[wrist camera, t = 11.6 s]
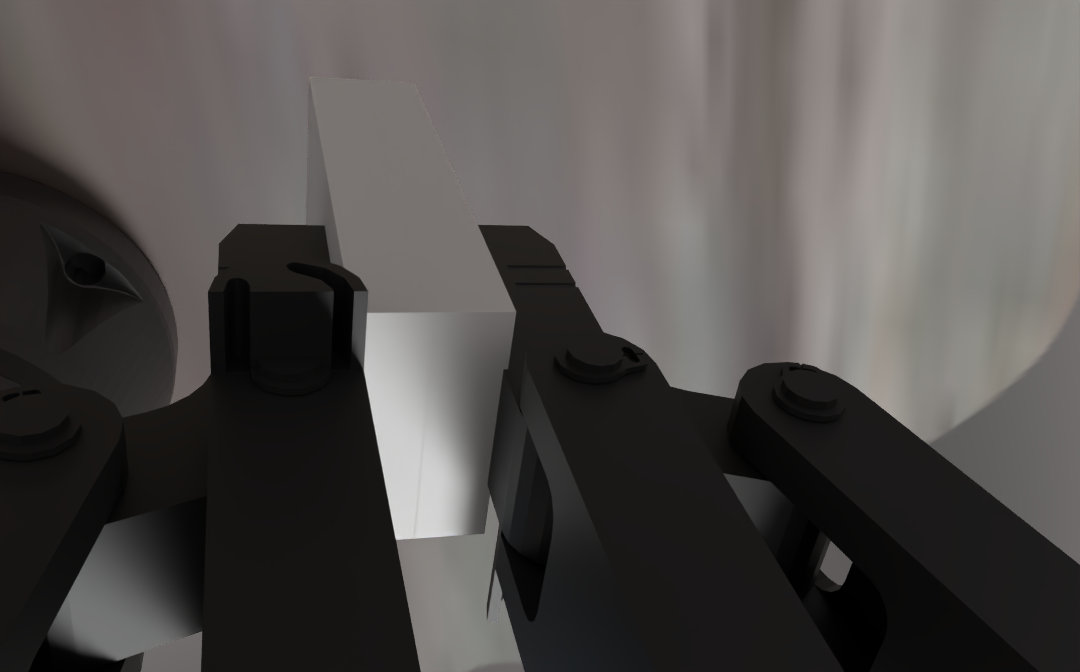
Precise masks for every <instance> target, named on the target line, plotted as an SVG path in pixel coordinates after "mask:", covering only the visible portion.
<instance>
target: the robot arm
mask: <svg viewBox="0 0 1080 672" xmlns="http://www.w3.org/2000/svg"><path fill="white" fill-rule="evenodd" d="M575 284H576V283H575V281H574V279H573V277H572V276H571V274H570V272H569V270H566V265H565V263H564V262H563V260H562V258H561V256H560V254H559V253H558V251H557V249H556V247H555V246H554V244H552V243H551V242H550V241H548V240H547V239H545V238H544V237H543V236H541V235H540V234H538V233H537V232H536V231H534V230H533V229H532V228H530V227H529V226H503V225H478V224H477V222H476V220H475V218H474V215H473V213H472V211H471V209H470V206H469V204H468V202H467V200H466V197H465V195H464V193H463V191H462V188H461V186H460V184H459V182H458V179H457V177H456V175H455V172H454V170H453V168H452V166H451V163H450V161H449V159H448V157H447V154H446V152H445V150H444V148H443V145H442V143H441V141H440V139H439V136H438V134H437V132H436V130H435V127H434V125H433V123H432V121H431V118H430V116H429V114H428V112H427V109H426V107H425V105H424V103H423V100H422V98H421V96H420V94H419V91H418V89H417V87H416V85H415V82H400V81H383V80H365V79H348V78H331V77H313V76H309V100H308V151H307V201H306V225H268V224H238V225H237V226H236V227H235V228H234V229H233V230H232V231H231V232H230V233H229V234H228V235H227V236H226V237H225V238H224V239H223V240H222V241H221V242H220V243H219V263H218V275H217V276H216V277H215V278H214V280H213V282H212V284H211V287H210V289H209V291H208V303H209V331H210V358H211V375H210V376H209V377H208V379H207V380H206V382H205V383H204V384H203V385H202V386H201V387H199V388H198V389H197V390H196V391H194V392H193V393H192V394H190V395H189V396H187V397H185V398H183V399H181V400H179V401H177V402H175V403H173V404H171V405H170V402H171V398H172V395H173V389H174V384H175V373H176V362H177V351H178V338H177V329H176V323H175V318H174V314H173V310H172V307H171V303H170V301H169V298H168V296H167V293H166V291H165V289H164V287H163V285H162V283H161V281H160V279H159V277H158V276H157V274H156V272H155V271H154V269H153V268H152V266H151V265H150V264H149V262H148V261H147V259H146V258H145V257H144V256H143V254H142V253H141V252H140V251H139V249H138V248H137V247H136V246H135V245H134V244H133V243H132V242H131V241H130V240H129V239H128V238H127V237H126V236H125V235H124V234H123V233H122V232H121V231H120V230H118V229H117V228H116V227H115V226H114V225H112V224H111V223H110V222H109V221H107V220H106V219H105V218H103V217H102V216H101V215H99V214H98V213H96V212H95V211H93V210H92V209H90V208H89V207H87V206H85V205H84V204H82V203H80V202H79V201H77V200H75V199H73V198H71V197H69V196H67V195H65V194H63V193H61V192H59V191H57V190H54V189H52V188H50V187H48V186H45V185H42V184H40V183H37V182H34V181H31V180H28V179H25V178H22V177H18V176H15V175H11V174H7V173H3V172H0V672H140V671H141V668H142V661H143V655H144V651H147V650H150V649H153V648H156V647H158V646H161V645H164V644H167V643H170V642H173V641H175V640H178V639H181V638H184V637H187V636H190V635H192V634H195V633H198V632H201V631H202V659H201V672H421V671H420V666H419V660H418V655H417V650H416V645H415V639H414V634H413V629H412V623H411V618H410V613H409V607H408V602H407V597H406V591H405V586H404V581H403V576H402V570H401V565H400V560H399V554H398V549H397V544H396V540H399V539H414V538H428V537H442V536H456V535H471V534H484V532H485V525H486V518H487V511H488V504H489V497H490V495H491V498H492V501H493V504H494V508H495V511H496V514H497V517H498V520H499V530H498V536H497V543H496V549H495V556H494V562H493V569H492V575H491V582H490V588H489V595H488V601H487V622H497V621H498V615H499V609H500V602H501V600H502V599H503V598H504V601H505V605H506V608H507V611H508V615H509V618H510V622H511V625H512V629H513V632H514V636H515V639H516V643H517V646H518V650H519V653H520V657H521V660H522V664H523V667H524V670H525V672H1080V565H1079V564H1078V563H1077V562H1076V561H1074V560H1073V559H1072V558H1071V557H1069V556H1068V555H1067V554H1065V553H1064V552H1063V551H1062V550H1060V549H1059V548H1058V547H1056V546H1055V545H1054V544H1053V543H1052V542H1050V541H1049V540H1048V539H1047V538H1045V537H1044V536H1043V535H1041V534H1040V533H1039V532H1037V531H1036V530H1035V529H1034V528H1033V527H1031V526H1030V525H1029V524H1028V523H1026V522H1025V521H1024V520H1022V519H1021V518H1020V517H1018V516H1017V515H1016V514H1015V513H1014V512H1012V511H1011V510H1010V509H1009V508H1007V507H1006V506H1005V505H1004V504H1002V503H1001V502H1000V501H998V500H997V499H996V498H995V497H993V496H992V495H991V494H990V493H988V492H987V491H986V490H984V489H983V488H982V487H981V486H979V485H978V484H977V483H976V482H974V481H973V480H972V479H971V478H969V477H968V476H967V475H966V474H964V473H963V472H962V471H961V470H959V469H958V468H957V467H956V466H954V465H953V464H952V463H950V462H949V461H948V460H947V459H945V458H944V457H943V456H942V455H940V454H939V453H938V452H937V451H935V450H934V449H933V448H931V447H930V446H929V445H928V444H926V443H925V442H924V441H923V440H921V439H920V438H919V437H918V436H916V435H915V434H914V433H913V432H911V431H910V430H909V429H908V428H906V427H905V426H904V425H902V424H901V423H900V422H899V421H897V420H896V419H895V418H894V417H892V416H891V415H890V414H889V413H887V412H886V411H885V410H884V409H882V408H881V407H880V406H878V405H877V404H876V403H875V402H873V401H872V400H871V399H870V398H868V397H867V396H866V395H865V394H863V393H862V392H861V391H860V390H858V389H857V388H855V387H854V386H852V385H850V384H849V383H847V382H846V381H844V380H842V379H841V378H839V377H837V376H836V375H833V374H830V373H828V372H825V371H822V370H820V369H819V368H817V367H815V366H811V365H806V364H802V365H800V364H799V363H791V362H782V363H764V364H761V365H759V366H756V367H754V368H751V369H749V370H747V372H746V373H745V375H744V376H743V377H742V379H741V380H740V382H739V386H738V389H737V393H736V396H735V399H732V398H726V397H720V396H714V395H708V394H703V393H697V392H691V391H686V390H682V389H678V388H673V387H670V386H669V384H668V382H667V381H666V379H665V377H664V376H663V374H662V372H661V371H660V369H659V367H658V366H657V364H656V363H655V362H654V361H653V360H652V359H651V358H650V356H649V355H648V354H647V353H646V352H645V351H644V350H643V349H641V348H639V347H638V346H636V345H634V344H632V343H630V342H629V341H627V340H625V339H623V338H620V337H617V336H613V335H610V334H607V333H604V332H603V331H602V329H601V327H600V325H599V324H598V322H597V320H596V318H595V317H594V315H593V313H592V311H591V309H590V308H589V306H588V304H587V302H586V301H585V299H584V297H583V295H582V293H581V292H580V290H579V288H578V287H575ZM830 541H832V542H833V543H834V544H835V545H836V546H837V547H838V548H839V549H840V550H841V551H842V552H843V553H844V554H845V555H846V556H847V557H848V558H849V559H850V560H851V561H852V562H853V563H852V565H851V568H850V571H849V573H848V575H847V578H846V580H845V582H844V584H843V585H842V586H841V585H837V584H836V583H834V582H833V581H831V580H830V579H829V578H828V577H827V576H826V575H825V574H824V573H823V572H822V571H821V570H820V567H821V565H822V562H823V559H824V557H825V554H826V551H827V549H828V546H829V544H830Z"/></svg>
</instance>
